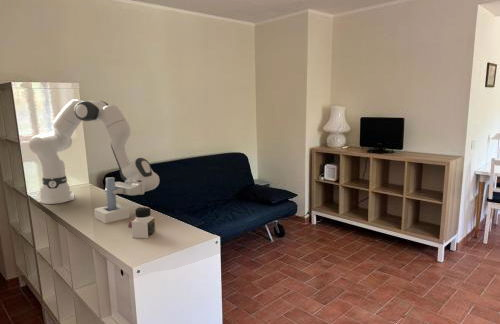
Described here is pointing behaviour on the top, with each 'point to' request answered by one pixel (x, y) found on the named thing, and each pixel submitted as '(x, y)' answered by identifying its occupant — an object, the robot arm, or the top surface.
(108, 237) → the top surface
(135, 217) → the video game controller
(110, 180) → the peg
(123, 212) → the socket block
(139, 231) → the medicine bottle
